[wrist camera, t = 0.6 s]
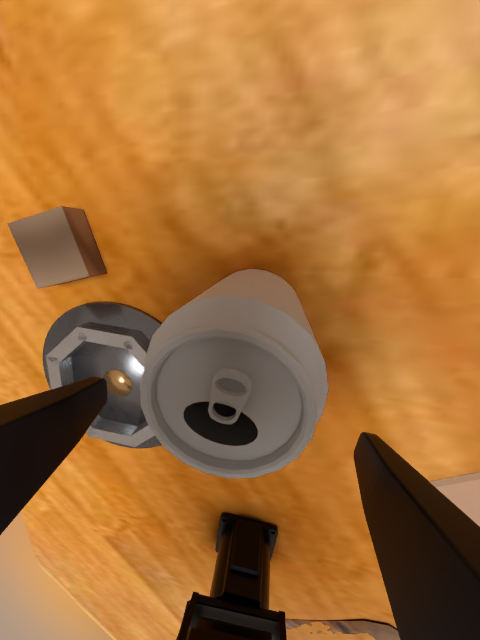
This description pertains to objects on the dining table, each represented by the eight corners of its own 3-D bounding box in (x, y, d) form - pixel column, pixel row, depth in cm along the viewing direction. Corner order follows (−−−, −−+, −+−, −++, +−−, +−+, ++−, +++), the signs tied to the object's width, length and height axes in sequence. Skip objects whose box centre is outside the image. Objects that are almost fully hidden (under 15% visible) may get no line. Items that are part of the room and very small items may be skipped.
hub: (193, 459, 25) (187, 474, 23) (57, 427, 27) (42, 440, 25) (205, 317, 20) (198, 324, 18) (34, 289, 21) (14, 292, 20)
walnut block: (106, 272, 20) (89, 276, 18) (58, 284, 21) (37, 288, 19) (83, 209, 19) (61, 206, 17) (33, 225, 20) (7, 223, 18)
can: (201, 341, 21) (110, 459, 9) (220, 255, 18) (128, 276, 7) (284, 366, 20) (293, 522, 9) (315, 282, 18) (383, 352, 6)
